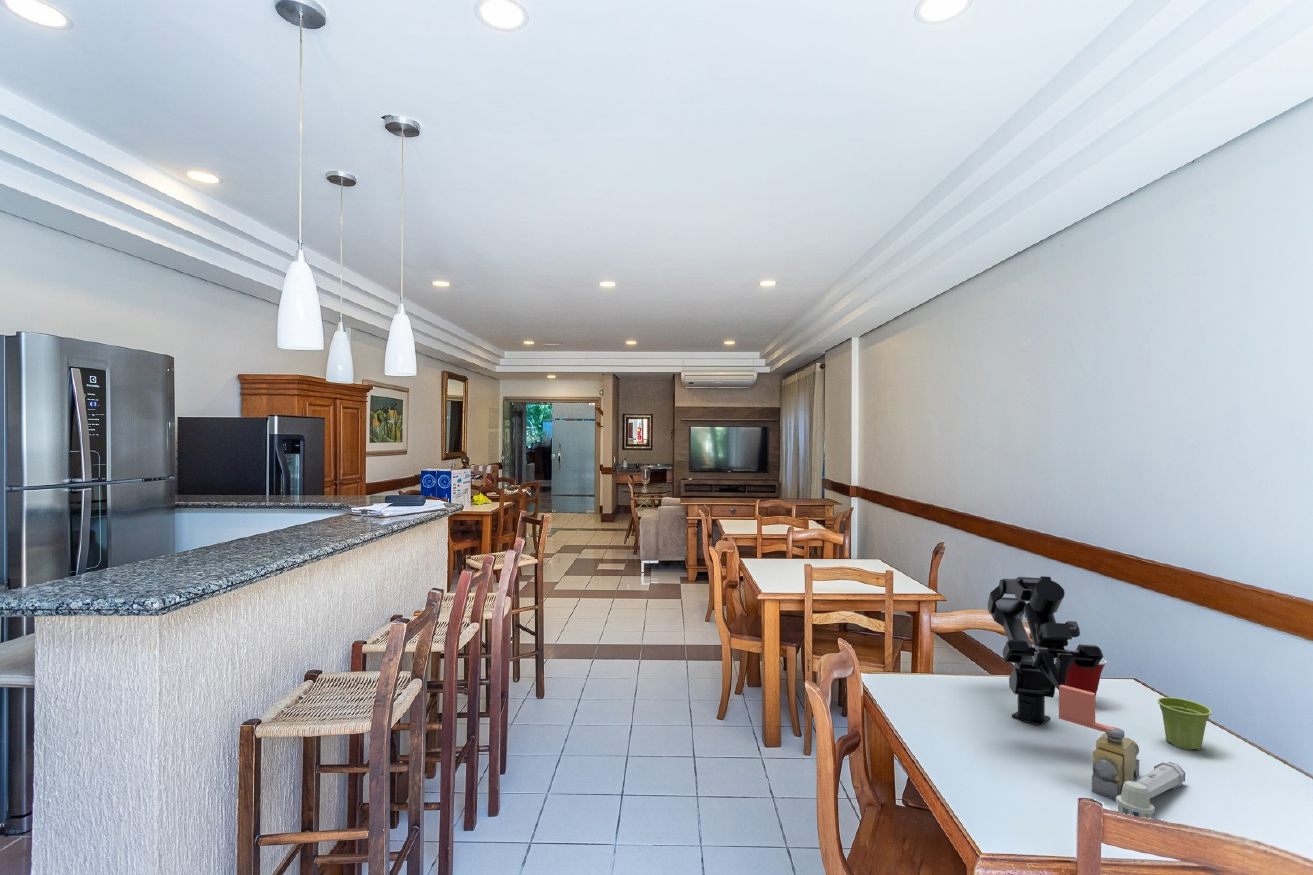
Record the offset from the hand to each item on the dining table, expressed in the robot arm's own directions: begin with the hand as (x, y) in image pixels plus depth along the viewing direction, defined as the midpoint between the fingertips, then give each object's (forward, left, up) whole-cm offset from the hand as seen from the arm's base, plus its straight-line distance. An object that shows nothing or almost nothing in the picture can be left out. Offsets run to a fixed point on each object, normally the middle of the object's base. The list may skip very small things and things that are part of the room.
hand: (1062, 690), depth 137 cm
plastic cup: (-38, -8, -14) cm, 41 cm away
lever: (+6, +7, -4) cm, 10 cm away
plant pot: (-27, +15, -14) cm, 34 cm away
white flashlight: (+7, +17, -14) cm, 23 cm away
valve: (+6, +11, -14) cm, 18 cm away
